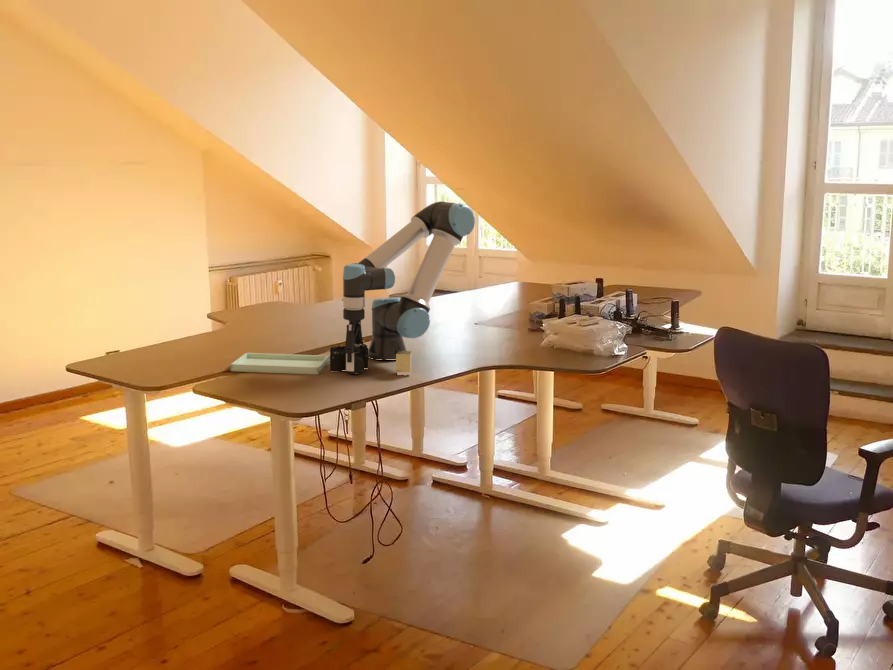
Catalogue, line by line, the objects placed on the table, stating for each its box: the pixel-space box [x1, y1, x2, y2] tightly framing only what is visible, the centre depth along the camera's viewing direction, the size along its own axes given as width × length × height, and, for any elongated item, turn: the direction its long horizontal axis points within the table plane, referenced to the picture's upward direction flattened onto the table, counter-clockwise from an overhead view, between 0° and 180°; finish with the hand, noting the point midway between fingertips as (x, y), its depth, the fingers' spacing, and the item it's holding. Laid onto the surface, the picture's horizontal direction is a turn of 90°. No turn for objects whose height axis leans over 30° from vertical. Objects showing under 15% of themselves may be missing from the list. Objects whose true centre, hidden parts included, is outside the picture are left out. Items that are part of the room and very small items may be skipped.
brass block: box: [395, 350, 413, 373], centre depth 315 cm, size 5×5×8 cm
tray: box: [230, 352, 330, 375], centre depth 323 cm, size 18×32×2 cm, turn 85°
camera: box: [329, 343, 369, 375], centre depth 316 cm, size 14×11×10 cm
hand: (353, 366), depth 316 cm, fingers open, 13 cm apart
